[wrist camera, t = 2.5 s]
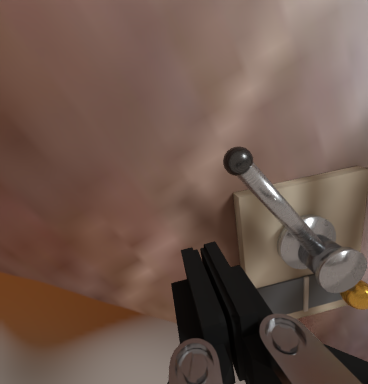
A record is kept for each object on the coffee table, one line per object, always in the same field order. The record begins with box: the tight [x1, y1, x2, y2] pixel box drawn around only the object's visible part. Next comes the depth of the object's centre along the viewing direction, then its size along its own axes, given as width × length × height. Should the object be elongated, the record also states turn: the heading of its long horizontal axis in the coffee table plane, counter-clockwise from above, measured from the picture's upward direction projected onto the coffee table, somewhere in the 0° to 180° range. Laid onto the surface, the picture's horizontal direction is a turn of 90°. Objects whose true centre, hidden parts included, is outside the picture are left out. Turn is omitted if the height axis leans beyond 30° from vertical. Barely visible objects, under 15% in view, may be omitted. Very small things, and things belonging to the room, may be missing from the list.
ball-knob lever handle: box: [223, 147, 368, 310], centre depth 19 cm, size 23×6×4 cm, turn 45°
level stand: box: [233, 166, 368, 319], centre depth 23 cm, size 14×18×2 cm
